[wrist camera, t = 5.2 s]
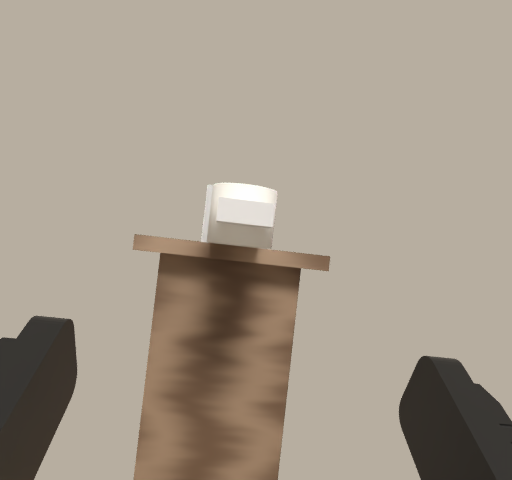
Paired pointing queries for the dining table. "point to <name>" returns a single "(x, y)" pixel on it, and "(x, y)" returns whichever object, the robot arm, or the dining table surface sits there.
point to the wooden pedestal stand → (218, 360)
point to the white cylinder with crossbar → (239, 215)
